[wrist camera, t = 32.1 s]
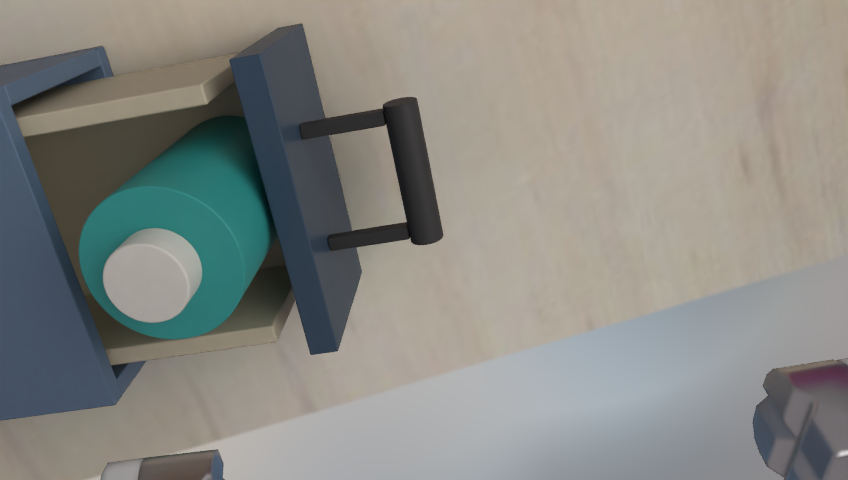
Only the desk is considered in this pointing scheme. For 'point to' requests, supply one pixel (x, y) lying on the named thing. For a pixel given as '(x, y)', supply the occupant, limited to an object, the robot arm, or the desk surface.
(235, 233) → the detergent bottle
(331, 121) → the drawer
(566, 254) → the desk surface
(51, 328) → the cabinet
